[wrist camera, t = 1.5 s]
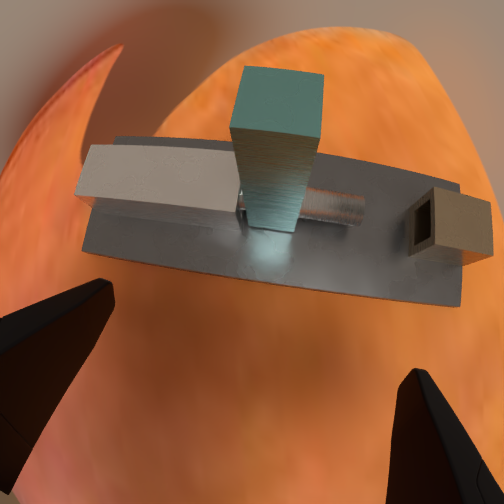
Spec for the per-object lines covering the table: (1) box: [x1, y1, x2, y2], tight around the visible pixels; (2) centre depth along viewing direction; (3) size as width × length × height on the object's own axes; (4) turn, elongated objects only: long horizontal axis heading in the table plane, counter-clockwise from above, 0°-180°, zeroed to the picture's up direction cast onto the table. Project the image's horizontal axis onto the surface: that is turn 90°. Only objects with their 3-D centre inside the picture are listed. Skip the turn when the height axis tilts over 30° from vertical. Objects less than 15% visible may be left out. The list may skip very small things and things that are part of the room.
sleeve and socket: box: [74, 136, 493, 308], centre depth 20 cm, size 29×10×5 cm, turn 81°
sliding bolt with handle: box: [229, 66, 365, 232], centre depth 16 cm, size 18×3×12 cm, turn 81°
